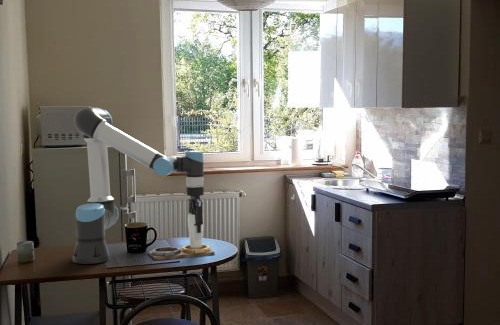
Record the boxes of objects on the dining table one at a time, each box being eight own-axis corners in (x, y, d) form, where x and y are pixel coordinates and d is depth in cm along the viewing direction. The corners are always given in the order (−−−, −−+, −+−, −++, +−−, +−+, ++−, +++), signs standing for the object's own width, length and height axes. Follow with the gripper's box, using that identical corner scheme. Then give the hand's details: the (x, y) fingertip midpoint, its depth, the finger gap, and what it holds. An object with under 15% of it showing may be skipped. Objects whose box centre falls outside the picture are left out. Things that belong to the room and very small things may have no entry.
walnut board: (155, 260, 243) (155, 257, 243) (148, 254, 255) (148, 251, 255) (214, 254, 252) (214, 252, 252) (205, 248, 264) (205, 246, 264)
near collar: (156, 256, 243) (156, 253, 243) (150, 251, 254) (150, 248, 254) (182, 254, 248) (182, 251, 248) (176, 249, 258) (176, 245, 258)
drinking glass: (205, 245, 259) (204, 212, 258) (202, 249, 252) (201, 214, 251) (190, 245, 259) (189, 212, 258) (186, 249, 253) (186, 214, 252)
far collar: (186, 254, 248) (186, 250, 248) (179, 248, 259) (179, 245, 259) (212, 251, 252) (212, 248, 252) (204, 246, 263) (204, 243, 263)
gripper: (210, 188, 246) (211, 241, 248) (196, 183, 264) (197, 234, 266) (193, 188, 243) (194, 243, 245) (180, 184, 262) (181, 235, 263)
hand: (196, 238), depth 255 cm, fingers closed on drinking glass, 7 cm apart
